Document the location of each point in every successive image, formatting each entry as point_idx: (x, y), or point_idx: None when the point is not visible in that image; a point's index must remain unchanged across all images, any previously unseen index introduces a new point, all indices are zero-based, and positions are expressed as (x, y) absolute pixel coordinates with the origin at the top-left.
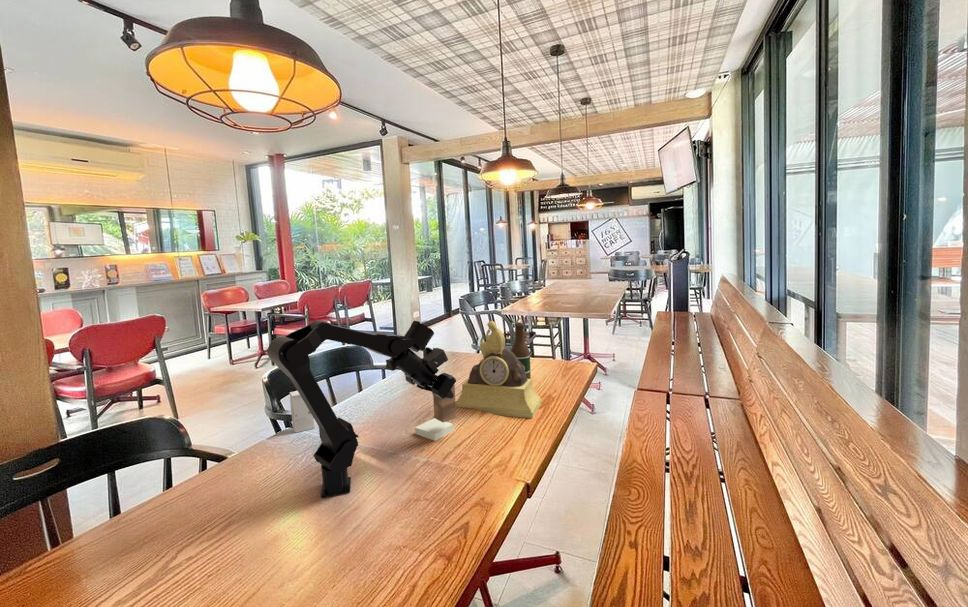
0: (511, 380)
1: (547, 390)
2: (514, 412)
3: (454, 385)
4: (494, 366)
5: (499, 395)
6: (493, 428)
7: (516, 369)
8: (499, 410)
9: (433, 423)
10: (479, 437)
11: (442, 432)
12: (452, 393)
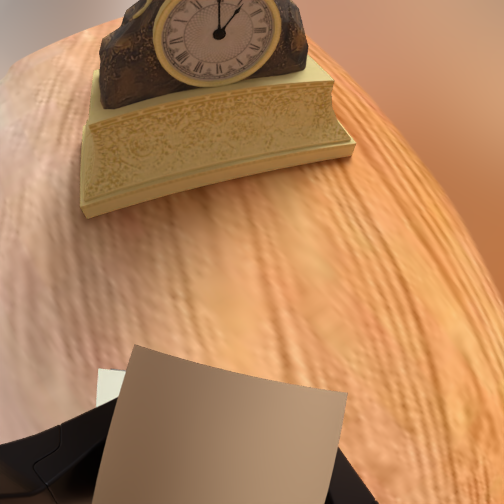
0: (282, 55)
1: None
2: (305, 154)
3: (343, 397)
4: (222, 15)
5: (247, 114)
6: (312, 258)
7: (295, 17)
8: (257, 162)
9: None
10: (322, 342)
11: None
12: (338, 450)
